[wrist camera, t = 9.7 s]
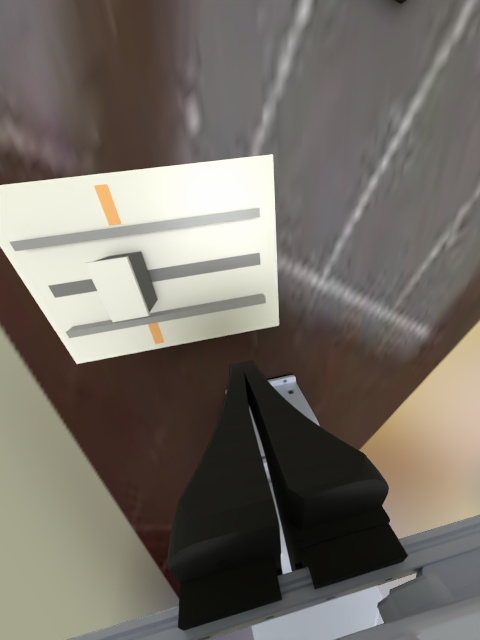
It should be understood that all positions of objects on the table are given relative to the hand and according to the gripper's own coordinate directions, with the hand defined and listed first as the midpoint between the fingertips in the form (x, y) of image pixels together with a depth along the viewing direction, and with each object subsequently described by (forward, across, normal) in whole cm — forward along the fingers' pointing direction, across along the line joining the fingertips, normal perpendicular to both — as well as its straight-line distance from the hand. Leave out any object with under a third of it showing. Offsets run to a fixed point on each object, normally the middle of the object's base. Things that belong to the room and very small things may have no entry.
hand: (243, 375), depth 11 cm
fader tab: (+8, +7, -5) cm, 12 cm away
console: (+10, +5, -5) cm, 12 cm away
